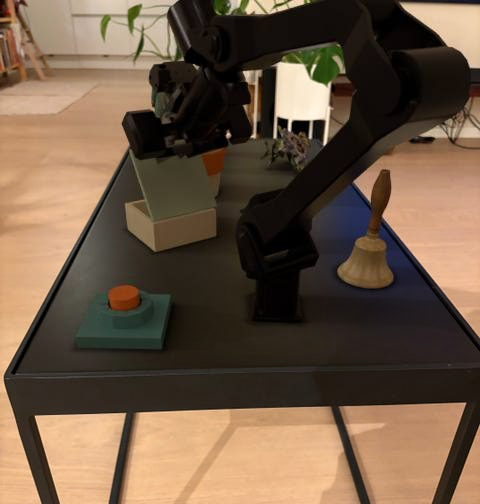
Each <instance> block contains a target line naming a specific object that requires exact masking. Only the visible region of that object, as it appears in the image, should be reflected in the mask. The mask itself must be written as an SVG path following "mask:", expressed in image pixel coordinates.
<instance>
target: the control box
mask: <svg viewBox="0 0 480 504" xmlns="http://www.w3.org/2000/svg"><path fill="white" fill-rule="evenodd" d="M138 291H139V298H140V305H139V306H138V307H137V308H135V309H132V310H128V311H116V310H113V309H112V308H111V307H110V300H109V292H96V293H95V294H94V297H93V299H92V301H91V303H90V305H89V307H88V310H87V311H86V314H85V315H84V318H83V320H82V323H81V324H80V325H79V326H80V327H79V329H78V331H77V334H76V335H75V341H76V346H77V348H78V349H116V350H117V349H119V350H120V349H123V350H124V349H125V350H131V349H132V350H163V346H164V341H165V337H166V332H167V328H168V323H169V320H170V315H171V310H172V305H173V304H172V303H173V301H172V294H169V293H167V294H165V293H164V294H162V293H161V294H160V293H149V292H147V291H144V290H142V289H138Z"/></svg>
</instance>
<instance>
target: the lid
mask: <svg viewBox="0 0 480 504" xmlns="http://www.w3.org/2000/svg"><path fill="white" fill-rule="evenodd" d="M172 149H173V151H174V154H175V156H174V157H172V158H170V159H168V160H166V161H164V162H162V163H159V164H157V162H156V159H155V158H152V159H146V160H139V159H137V158H135V156H134V154H133V151H132V149H131V148H130V149H129V150H128V152H129V155H130V158H131V161H132V164H133V167H134V170H135V171H134V172H135V174H136V177H137V179H138V182H139V185H140V189H141V192H142V195H143V198H144V199H145V202H146V205H147V208H148V211H149V214H150V217H151V220H152V222H156V221H160V220H164V219H169V218H173V217H177V216H182V215H186V214H190V213H195V212H199V211H203V210H207V209H212V208H214V209H216V208H217V207H218V205H217V201H216V197H214V195H213V191H212V188H211V185H210V182H209V178H208V175H207V172H206V169H205V166H204V162H203V159H202V156H201V155H198V156H195V157H192V158H187V156H186V154H190V153H193V151H194V147H193V144H192V143H188V144H186V143H185V141H179V142H175V144H174V145H173V146H172Z"/></svg>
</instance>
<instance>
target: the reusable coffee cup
mask: <svg viewBox="0 0 480 504" xmlns="http://www.w3.org/2000/svg"><path fill="white" fill-rule="evenodd" d="M169 117H174V114H173V113H170V112H167V113H165V114H163V117H162V124H166V123H169V121H168V119H169ZM226 133H227V134H228V131H227V132H226ZM182 141H185V140H182ZM175 142H179V141H175ZM226 150H227V147H226V148H221V149H218V150H215V151H211V152H208V153H204V154H201V156H202V159H203V162H204V166H205V169H206V172H207V175H208V178H209V182H210V185H211V188H212V191H213V195H214V198H216V197H217V196H218V195H219V189H220V182H221V174H222V172H223V171H224V167H225V160H226Z"/></svg>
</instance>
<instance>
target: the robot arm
mask: <svg viewBox="0 0 480 504" xmlns="http://www.w3.org/2000/svg"><path fill="white" fill-rule="evenodd" d="M166 20H167V22H168V25H169V27H170V30H171V32H172V34H173V37H174V39H175V41H176V44H177V46H178V49H179V51H180V53H181V56H182V59H183V60H171V61H163V62H161V63H153V65H152V66H151V68H150V70H149V73H148V83H149V85H150V87H151V89H152V88H153V89H154V91H155V92H156V93H162V92H164V93H165V94H166V96H167V97H168V98H169V99H170V100H169V102H168V104H167V107H168V109H169V112H170V113H173V114H174V117H169V119H168V121H169V123H166V124H162V122H161V119H160V117H159V118H156V115H155V110H152V109H150V108H147V109H138V110H130V111H126V112H125V114H124V116H123V119H122V121H121V124H120V125H121V127H122V129H123V131H124V134H125V136H126V139H127V141H128V144H129V147H130V149H132V151H133V154H134V156H135V158H137V159H139V160H146V159H152V158H155V159H156V162H157V164H159V163H162V162H164V161H166V160H168V159H170V158H172V157H174V156H175V154H174V151H173V149H172V146H173V145H174V144H175V141H182V140H185V143H186V144H188V143H192V144H193V147H194V151H193V153H190V154H186V156H187V158H192V157H195V156H198V155H201V154H204V153H208V152H211V151H215V150H218V149H221V148H226V149H227V147H229V145H232V146H235V145H241V144H246V143H247V142H248V141H249V140H250V139H251V138H252V136H253V131H254V127H253V124H252V121H251V120H250V117H249V115H248V113H247V110H246V108H245V106H248V105H251V104H252V94H251V92H250V89H249V82H248V81H247V78H246V76H245V73H244V72H253V71H264V70H266V69H268V68H271V67H273V66H275V65H277V64H279V63H280V62H282V60H283V58H284V57H286V56H288V55H290V54H295V53H300V52H306V51H311V50H317V49H322V48H327V47H333V46H339V48H341V50H342V59H343V65H344V73H345V76H346V78H347V80H348V81H349V82H350V84H351V85H352V86H353V88H354V89H355V90H354V91H353V93H352V96H351V101H350V109H349V116H348V118H347V120H346V121H345V122H344V123H343V125H341V127H340V128H339V129H338V130H337V131H336V132H335V133H334V134H333V135H332V137H330V139H329V140H328V141H327V142H326V143H325V144H324V145H323V146H322V147H321V149H319V151H318V152H317V153H316V154H315V155H314V156H313V157H312V158H311V159H310V160H309V162H307V163H306V164H305V165H304V168H303V169H302V170H301V171H300V172H299V173H298V172H297V174H296V176H294V177H293V178H292V180H291V181H290V182H289V183H288V184H287V185H286V186H285V187H281V188H276V189H271V190H268V191H262V192H259V193H258V192H257V193H255V194H254V195H252V197H250V199H249V200H248V203H247V204H246V206H245V207H244V208H241V209H239V213H240V214H241V215H240V216H239V218H238V219H237V221H236V228H235V235H234V236H235V241H236V245H237V251H238V255H239V256H238V258H239V263H240V268H241V270H242V271H243V272H245V277H246V278H247V279H248V280H254V281H255V283H254V285H255V286H254V292H252V293H251V294H250V297H251V298H250V301H251V302H250V303H251V304H250V306H251V320H252V321H253V322H288V323H289V322H293V323H300V322H302V321H303V314H302V309H301V303H300V297H299V291H300V284H301V283H300V282H301V273H302V272H301V271H303V270H306V269H308V268H313V267H316V265H317V263H318V261H319V258H320V253H319V251H318V250H319V249H318V248H317V246H316V244H315V242H314V240H313V239H314V238H313V237H312V235H311V232H312V230H313V219H314V218H315V216H317V215H318V214H319V213H320V212H321V211H322V210H323V209H324V208H325V207H327V206H328V205H329V204H330V203H331V202H333V200H335V199H336V198H337V197H338V196H339V195H340V194H341V193H343V191H344V190H346V189H347V188H348V187H349V186H351V184H352V183H354V182H355V181H356V180H357V179H358V178H359V177H361V175H363V173H365V172H366V171H367V170H369V168H371V167H372V166H373V164H375V163H376V162H377V161H378V160H379V159H381V158H382V157H383V156H384V155H385V154H387V152H389V151H390V150H392V149H393V148H395V147H397V146H399V145H402V144H404V143H406V142H408V141H410V140H412V139H414V138H417V137H419V136H421V135H423V134H426V133H428V132H429V131H431V130H433V129H434V128H436V127H438V126H440V125H441V124H443V123H445V122H447V121H449V120H451V119H452V118H454V117H455V116H457V115H459V113H461V111H462V110H463V109H464V108H465V107H466V106H467V103H468V102H469V100H470V97H471V94H470V91H471V87H472V70H471V66H470V64H469V60H468V59H467V58H466V56H465V55H464V54H463V52H462V51H461V50H458V49H457V48H455V47H453V46H448V44H447V43H446V42H445V40H443V38H442V37H441V36H440V34H438V32H437V31H435V30H434V29H432V28H431V27H429V26H428V25H427V24H426V23H424V22H423V21H421V19H419V18H417V17H416V16H414V15H413V14H412V13H411V12H408V10H406V9H405V8H404V6H403V5H402V4H401V3H400V2H399V0H313V1H310V2H307V3H303V4H299V5H296V6H292V7H288V8H286V9H282V10H278V11H276V12H271V13H244V14H243V13H240V14H239V13H238V14H217V12H216V10H215V7H214V5H213V2H212V0H177V1H175V2H174V3H173V4H172V5H171V6H169V8H168V9H167V12H166ZM196 67H198V68H196ZM226 132H227V133H226ZM228 132H229V134H230V137H229V138H228V137H227V135H228Z"/></svg>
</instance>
